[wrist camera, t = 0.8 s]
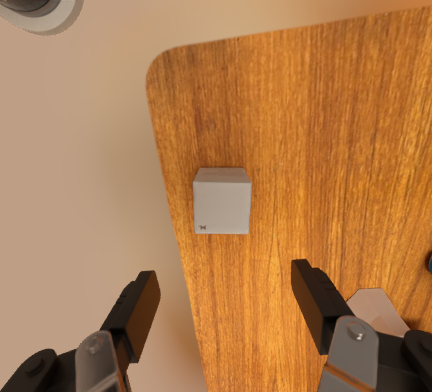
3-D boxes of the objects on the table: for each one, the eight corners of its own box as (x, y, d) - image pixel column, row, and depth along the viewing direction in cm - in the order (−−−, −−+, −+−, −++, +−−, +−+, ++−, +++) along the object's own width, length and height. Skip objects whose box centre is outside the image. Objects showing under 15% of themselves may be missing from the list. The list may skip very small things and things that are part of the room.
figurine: (344, 290, 33) (471, 462, 17) (395, 286, 33) (579, 459, 16) (341, 320, 36) (449, 497, 19) (388, 317, 35) (542, 496, 18)
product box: (242, 208, 29) (249, 236, 22) (199, 208, 29) (193, 235, 22) (244, 166, 26) (253, 182, 20) (198, 165, 27) (191, 181, 20)
